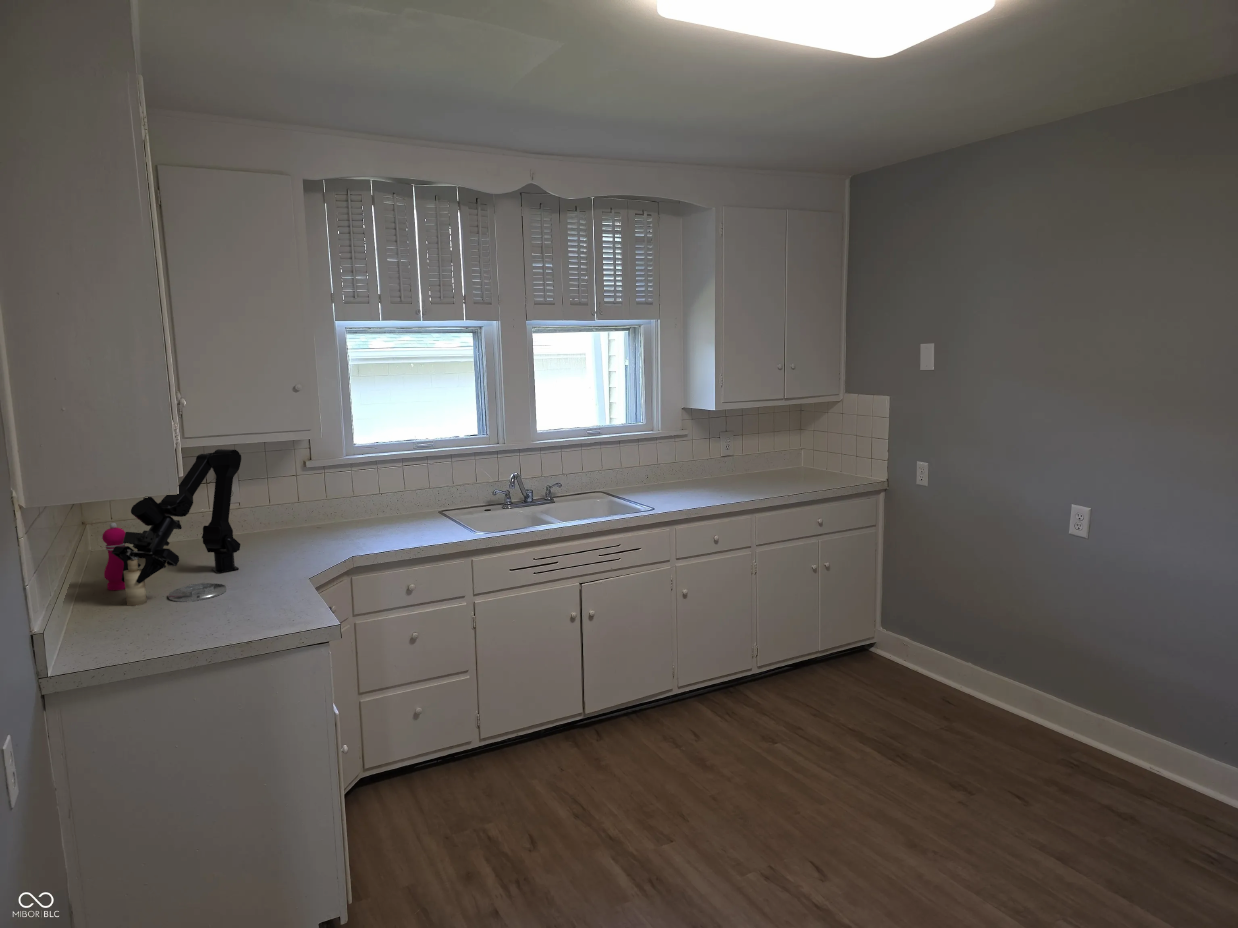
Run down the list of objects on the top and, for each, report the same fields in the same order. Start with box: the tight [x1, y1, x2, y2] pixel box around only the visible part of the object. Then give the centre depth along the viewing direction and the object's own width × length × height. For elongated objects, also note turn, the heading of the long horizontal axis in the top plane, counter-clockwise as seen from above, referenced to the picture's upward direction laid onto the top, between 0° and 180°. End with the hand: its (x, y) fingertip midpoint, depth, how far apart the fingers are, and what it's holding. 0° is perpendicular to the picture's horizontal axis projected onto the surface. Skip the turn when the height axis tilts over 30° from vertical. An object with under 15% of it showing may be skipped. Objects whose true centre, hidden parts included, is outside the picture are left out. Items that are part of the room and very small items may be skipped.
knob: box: [124, 559, 148, 607], centre depth 221 cm, size 5×5×13 cm
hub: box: [167, 582, 227, 603], centre depth 230 cm, size 15×15×2 cm
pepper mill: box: [101, 522, 126, 591], centre depth 236 cm, size 7×7×20 cm
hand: (130, 582), depth 220 cm, fingers closed on knob, 5 cm apart
